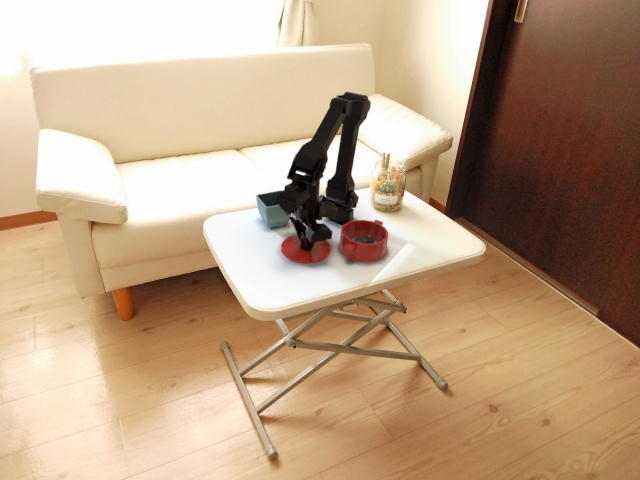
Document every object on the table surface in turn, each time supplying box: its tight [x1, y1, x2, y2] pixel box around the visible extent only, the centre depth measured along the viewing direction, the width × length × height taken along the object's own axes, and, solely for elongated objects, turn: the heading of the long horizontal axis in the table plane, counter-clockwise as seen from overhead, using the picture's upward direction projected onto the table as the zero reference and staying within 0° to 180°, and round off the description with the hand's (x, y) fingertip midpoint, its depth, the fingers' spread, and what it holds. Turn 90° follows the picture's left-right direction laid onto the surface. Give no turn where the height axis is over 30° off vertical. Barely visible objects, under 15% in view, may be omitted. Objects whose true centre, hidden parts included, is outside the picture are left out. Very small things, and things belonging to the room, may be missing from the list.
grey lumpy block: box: [353, 235, 375, 244], centre depth 130 cm, size 7×4×4 cm, turn 117°
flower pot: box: [255, 189, 292, 229], centre depth 138 cm, size 9×9×9 cm
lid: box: [280, 231, 332, 264], centre depth 128 cm, size 14×14×6 cm
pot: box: [338, 219, 389, 264], centre depth 129 cm, size 13×19×6 cm
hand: (305, 246), depth 129 cm, fingers open, 4 cm apart
